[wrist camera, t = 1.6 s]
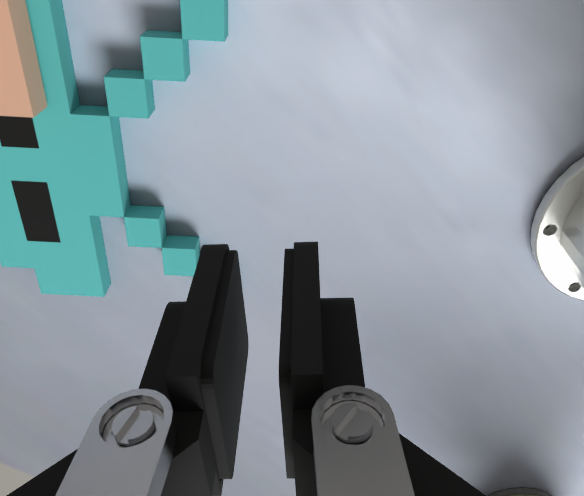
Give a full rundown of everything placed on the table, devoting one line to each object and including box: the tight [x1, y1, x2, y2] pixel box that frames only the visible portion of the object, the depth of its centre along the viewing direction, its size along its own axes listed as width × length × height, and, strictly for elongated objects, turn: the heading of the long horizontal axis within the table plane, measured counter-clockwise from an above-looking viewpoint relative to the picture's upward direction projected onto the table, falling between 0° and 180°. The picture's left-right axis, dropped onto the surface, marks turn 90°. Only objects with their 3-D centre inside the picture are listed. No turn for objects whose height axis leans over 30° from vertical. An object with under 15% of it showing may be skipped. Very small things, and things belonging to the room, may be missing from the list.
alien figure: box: [0, 0, 228, 297], centre depth 33 cm, size 20×2×20 cm
